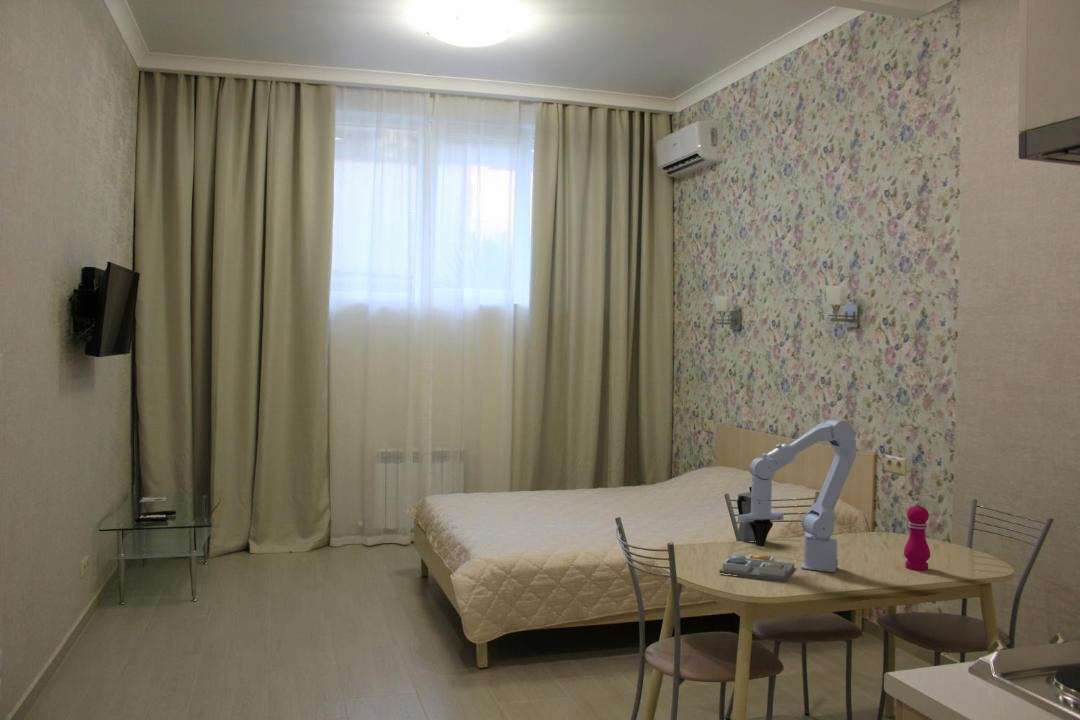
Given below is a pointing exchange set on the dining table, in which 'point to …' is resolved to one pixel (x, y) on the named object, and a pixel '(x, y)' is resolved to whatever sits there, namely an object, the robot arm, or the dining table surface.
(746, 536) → the coffeepot
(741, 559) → the button blue
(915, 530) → the pepper mill
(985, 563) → the dining table surface
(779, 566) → the button sage
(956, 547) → the dining table surface
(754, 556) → the button orange
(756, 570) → the control board
